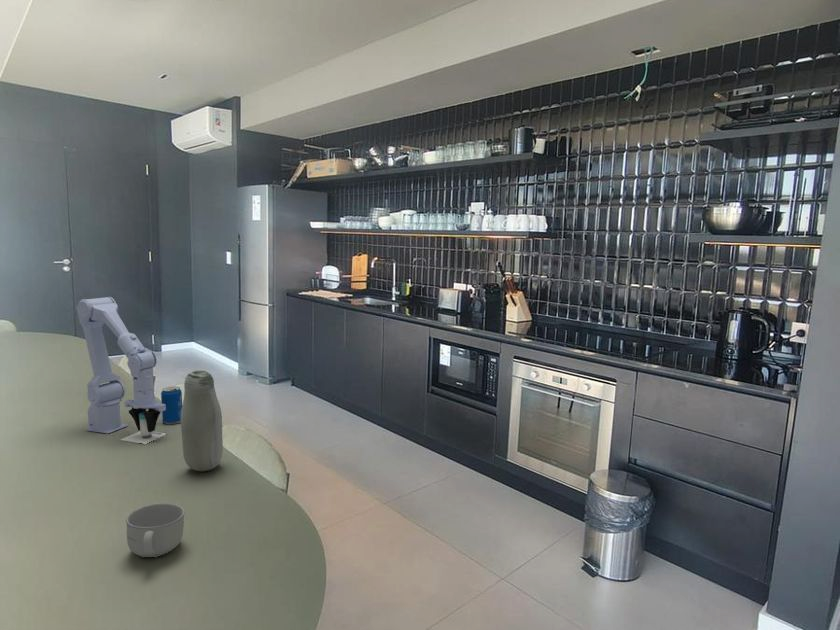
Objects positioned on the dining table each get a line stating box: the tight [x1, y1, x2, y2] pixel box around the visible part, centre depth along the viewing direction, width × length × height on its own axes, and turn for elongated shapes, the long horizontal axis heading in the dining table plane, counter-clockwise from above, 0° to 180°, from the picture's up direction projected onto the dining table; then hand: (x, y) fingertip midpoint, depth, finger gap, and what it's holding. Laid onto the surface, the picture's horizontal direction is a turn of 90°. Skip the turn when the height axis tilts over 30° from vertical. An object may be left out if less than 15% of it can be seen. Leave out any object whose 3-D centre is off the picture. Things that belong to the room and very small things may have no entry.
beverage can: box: [160, 386, 183, 425], centre depth 188 cm, size 6×6×12 cm
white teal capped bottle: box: [139, 411, 154, 438], centre depth 173 cm, size 4×4×8 cm
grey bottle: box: [180, 370, 224, 472], centre depth 149 cm, size 10×10×28 cm
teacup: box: [125, 502, 185, 558], centre depth 110 cm, size 14×11×8 cm
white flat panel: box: [120, 431, 167, 445], centre depth 174 cm, size 10×9×1 cm
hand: (146, 430), depth 173 cm, fingers closed on white teal capped bottle, 3 cm apart
